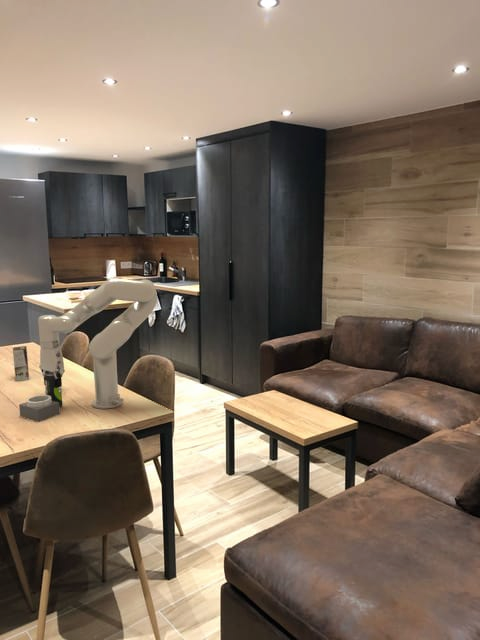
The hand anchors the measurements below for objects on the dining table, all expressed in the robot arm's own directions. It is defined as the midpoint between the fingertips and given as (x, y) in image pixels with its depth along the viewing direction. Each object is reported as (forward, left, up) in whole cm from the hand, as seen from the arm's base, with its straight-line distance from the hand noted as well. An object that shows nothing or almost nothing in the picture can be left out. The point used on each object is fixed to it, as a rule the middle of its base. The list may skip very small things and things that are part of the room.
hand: (53, 385), depth 212 cm
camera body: (-3, +9, -10) cm, 14 cm away
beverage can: (0, 0, -10) cm, 10 cm away
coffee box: (+52, -20, -10) cm, 57 cm away
